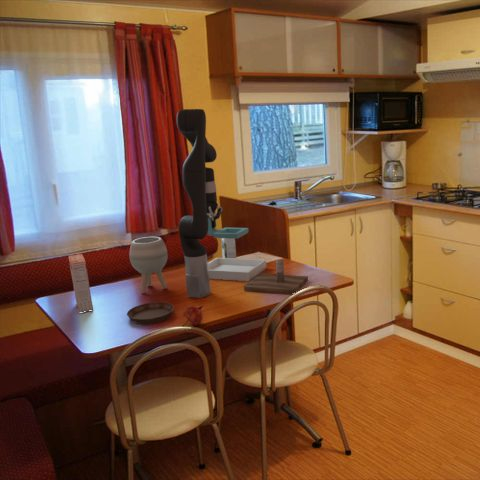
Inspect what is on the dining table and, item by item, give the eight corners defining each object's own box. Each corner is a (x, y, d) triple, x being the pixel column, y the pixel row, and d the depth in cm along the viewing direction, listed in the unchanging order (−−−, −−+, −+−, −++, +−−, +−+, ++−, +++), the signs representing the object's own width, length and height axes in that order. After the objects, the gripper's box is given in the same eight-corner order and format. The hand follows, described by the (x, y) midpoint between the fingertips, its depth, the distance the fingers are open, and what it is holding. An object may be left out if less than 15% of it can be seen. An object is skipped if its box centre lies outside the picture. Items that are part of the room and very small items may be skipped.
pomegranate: (189, 336, 191) (210, 316, 191) (174, 321, 189) (195, 301, 190) (189, 330, 198) (208, 311, 198) (175, 316, 197) (195, 297, 197)
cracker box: (75, 303, 227) (67, 255, 222) (90, 301, 229) (83, 253, 224) (78, 314, 214) (70, 263, 209) (93, 311, 216) (86, 260, 211)
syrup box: (222, 262, 272) (220, 233, 269) (233, 260, 274) (231, 232, 270) (225, 264, 267) (223, 236, 264) (237, 262, 269) (234, 234, 265)
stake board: (294, 294, 217) (292, 268, 215) (244, 290, 227) (242, 265, 224) (308, 280, 233) (306, 256, 230) (260, 277, 242) (259, 253, 240)
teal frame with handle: (237, 238, 240) (236, 220, 238) (203, 237, 247) (202, 220, 245) (248, 232, 251) (247, 215, 249) (215, 231, 258) (214, 214, 256)
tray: (249, 281, 238) (248, 272, 237) (197, 277, 249) (196, 269, 248) (266, 268, 256) (265, 260, 255) (217, 265, 267) (216, 257, 266)
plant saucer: (118, 319, 206) (117, 312, 205) (156, 305, 218) (155, 298, 217) (145, 330, 194) (144, 322, 193) (184, 314, 205) (183, 307, 205)
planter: (134, 297, 229) (127, 246, 223) (133, 286, 244) (127, 238, 239) (172, 292, 231) (166, 241, 226) (169, 281, 247) (164, 233, 242)
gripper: (190, 192, 247) (194, 229, 251) (217, 192, 241) (220, 230, 245) (198, 189, 254) (202, 226, 258) (225, 189, 248) (228, 226, 252)
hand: (211, 228), depth 251 cm, fingers closed on teal frame with handle
